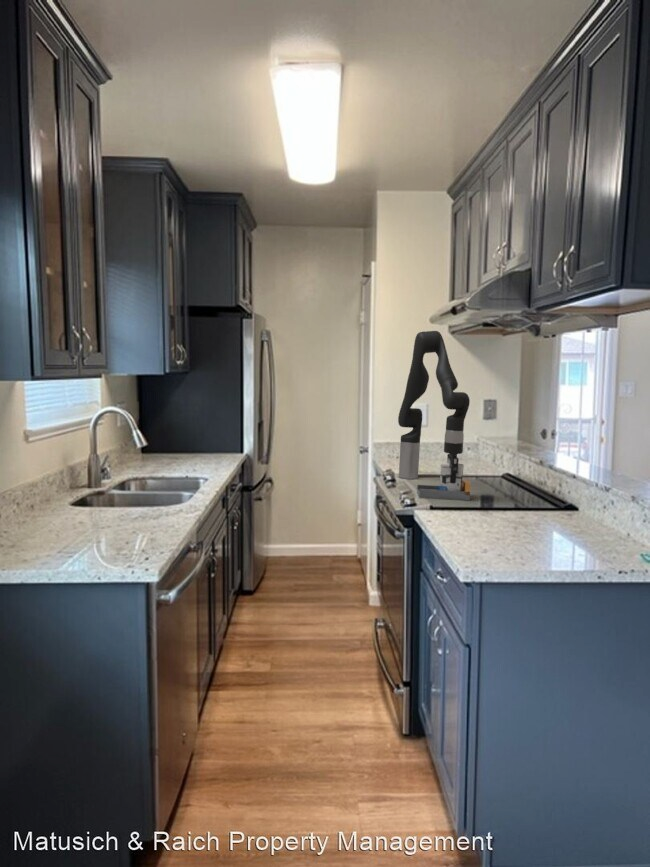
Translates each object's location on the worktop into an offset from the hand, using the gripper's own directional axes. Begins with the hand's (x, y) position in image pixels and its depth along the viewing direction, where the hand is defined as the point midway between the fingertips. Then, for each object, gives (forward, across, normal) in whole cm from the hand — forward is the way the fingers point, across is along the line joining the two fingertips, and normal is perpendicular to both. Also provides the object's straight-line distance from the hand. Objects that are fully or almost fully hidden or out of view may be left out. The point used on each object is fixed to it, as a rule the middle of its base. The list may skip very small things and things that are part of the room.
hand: (451, 481), depth 244 cm
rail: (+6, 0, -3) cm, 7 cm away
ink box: (+5, 0, 0) cm, 5 cm away
